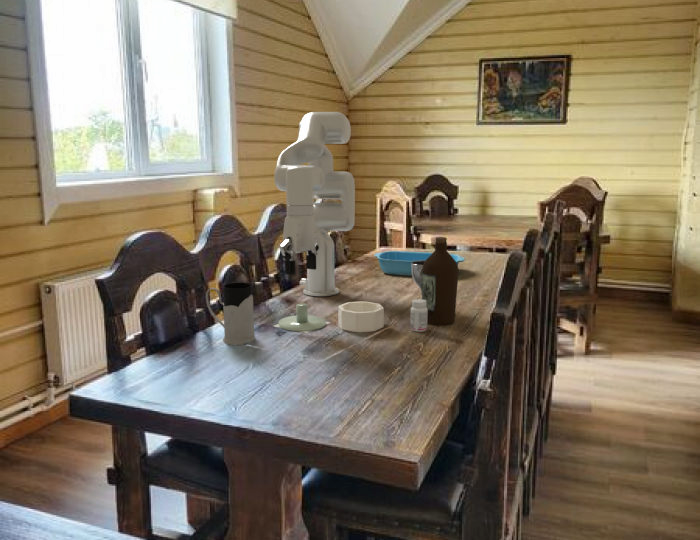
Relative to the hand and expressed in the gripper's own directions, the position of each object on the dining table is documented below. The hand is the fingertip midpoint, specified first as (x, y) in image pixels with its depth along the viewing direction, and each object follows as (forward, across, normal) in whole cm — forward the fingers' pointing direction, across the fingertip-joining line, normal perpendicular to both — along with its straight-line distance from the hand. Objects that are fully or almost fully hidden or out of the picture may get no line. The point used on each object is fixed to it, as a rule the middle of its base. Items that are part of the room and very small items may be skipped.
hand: (301, 271), depth 175 cm
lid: (+16, -1, 0) cm, 16 cm away
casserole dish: (+15, -88, -6) cm, 89 cm away
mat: (+16, -1, 0) cm, 16 cm away
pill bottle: (+16, -16, +30) cm, 37 cm away
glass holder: (+16, +19, -9) cm, 27 cm away
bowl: (+16, -9, +15) cm, 23 cm away
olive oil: (+16, -27, +31) cm, 44 cm away
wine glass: (+16, -37, +21) cm, 45 cm away
